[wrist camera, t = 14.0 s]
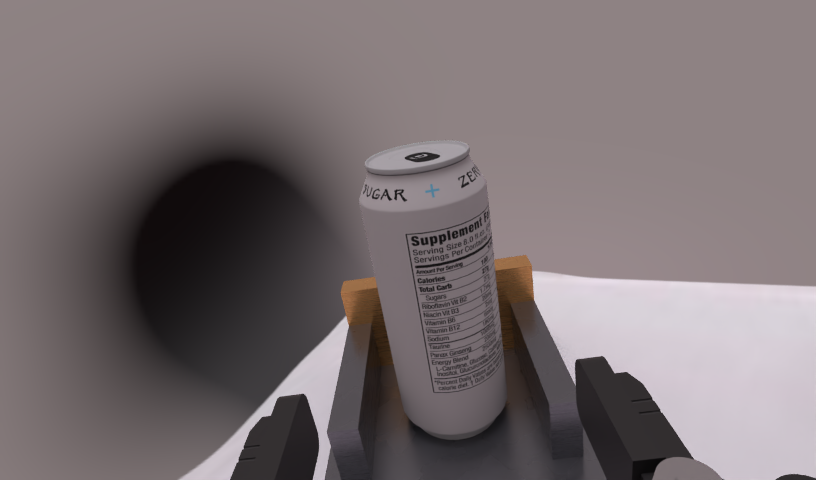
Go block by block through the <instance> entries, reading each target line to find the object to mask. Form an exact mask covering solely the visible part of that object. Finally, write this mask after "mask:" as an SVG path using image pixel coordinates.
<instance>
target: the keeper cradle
mask: <svg viewBox="0 0 816 480" xmlns="http://www.w3.org/2000/svg"><path fill="white" fill-rule="evenodd" d="M494 263H495V273H496V283H497V293H498V303H499V313H500V323H501V333H502V343H503V353H504V363H505V373H506V384H507V400H506V404H505V406H504V408H503V410H502V411H501V413H500V414H499V415H498V416H497V417H496V419H495V420H494V422H493V423H492V424H491V425H490V426H489V427H488V428H487V429H486V430H484V431H483V432H482V433H480V434H477V435H475V436H473V437H470V438H466V439H460V440H446V439H441V438H437V437H434V436H432V435H430V434H428V433H427V432H425V431H424V430H423V429H422V428H420V427H419V426H417V425H416V424H414V423H413V422H412V421H411V420H410V419H409V418H408V416H407V415H406V413H405V411H404V408H403V405H402V400H401V396H400V391H399V386H398V382H397V377H396V372H395V368H394V363H393V358H392V354H391V349H390V344H389V340H388V335H387V330H386V326H385V321H384V316H383V312H382V307H381V302H380V297H379V293H378V288H377V283H376V279H375V277H371V278H365V279H358V280H351V281H344V282H343V286H342V290H341V296H342V300H343V304H344V308H345V312H346V316H347V320H348V324H349V328H348V333H347V338H346V343H345V348H344V353H343V357H342V362H341V367H340V372H339V377H338V381H337V386H336V391H335V396H334V401H333V405H332V410H331V415H330V420H329V425H328V429H327V434H328V438H329V441H330V444H331V449H330V455H329V460H328V465H327V470H326V476H325V480H607V479H606V477H605V474H604V472H603V470H602V468H601V465H600V463H599V461H598V459H597V457H596V454H595V452H594V450H593V448H592V445H591V443H590V441H589V439H588V437H587V434H586V432H585V430H584V428H583V425H582V423H581V420H580V417H579V414H578V409H577V403H576V386H575V384H574V382H573V380H572V378H571V376H570V374H569V372H568V370H567V368H566V366H565V364H564V361H563V359H562V357H561V355H560V353H559V351H558V349H557V347H556V345H555V343H554V341H553V339H552V337H551V335H550V332H549V330H548V328H547V326H546V324H545V322H544V320H543V318H542V316H541V314H540V312H539V310H538V308H537V305H536V303H535V301H534V293H533V278H532V265H531V263H530V261H529V260H528V258H527V256H526V255H523V256H516V257H509V258H503V259H495V260H494Z"/></svg>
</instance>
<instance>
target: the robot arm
mask: <svg viewBox="0 0 816 480" xmlns="http://www.w3.org/2000/svg"><path fill="white" fill-rule="evenodd" d="M575 374H576V403H577V409H578V414H579V417H580V420H581V423H582V425H583V428H584V430H585V432H586V434H587V437H588V439H589V441H590V443H591V445H592V448H593V450H594V452H595V454H596V457H597V459H598V461H599V463H600V465H601V468H602V470H603V472H604V474H605V477H606V479H607V480H723V479H722V478H721V477H720V476H719V475H718V474H717V473H716V472H715V471H714V470H713V469H711V468H710V467H708V466H707V465H705V464H703V463H701V462H699V461H696V460H694V458H693V457H692V456H691V454H690V453H689V451H688V450H687V448H686V447H685V446H684V444H683V443H682V441H681V440H680V438H679V437H678V435H677V434H676V432H675V431H674V429H673V428H672V426H671V425H670V423H669V422H668V420H667V419H666V418H665V416H664V415H663V413H661V411H660V409H659V407H658V406H657V404H656V403H655V401H653V400H652V397H651V395H650V394H649V392H648V391H647V390H646V388H645V387H644V385H643V384H642V383H641V382H640V381H638V380H637V379H635V378H634V377H633V376H631V375H630V374H628V373H627V372H623V373H614V372H613V370H612V369H611V367H610V365H609V364H608V362H607V360H606V359H605V358H604V357H603V356H601V357H593V358H585V359H577V360H576V362H575ZM318 452H319V438H318V432H317V429H316V425H315V422H314V419H313V416H312V413H311V410H310V406H309V403H308V400H307V397H306V396H305V395H304V394H298V395H291V396H283V397H279V398H278V399H277V401H276V404H275V406H274V409H273V412H272V414H271V416H267V417H262V418H261V419H260V420H259V421H258V423H257V424H256V425H255V426H254V427H253V428H252V430H251V431H250V432H249V435H248V437H247V440H246V442H245V445H244V450H242V452H241V454H240V457H239V462H238V463H237V464H236V467H235V469H234V472H233V474H232V476H231V479H230V480H313V475H314V471H315V466H316V462H317V457H318ZM776 480H816V478H813V477H809V476H805V475H798V474H789V475H784V476H781V477H779V478H777V479H776Z"/></svg>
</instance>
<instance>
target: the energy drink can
mask: <svg viewBox="0 0 816 480" xmlns="http://www.w3.org/2000/svg"><path fill="white" fill-rule="evenodd" d="M469 151H470V148H469V146H468V144H466V143H464V142H460V141H428V142H420V143H414V144H409V145H404V146H399V147H396V148H392V149H388V150H385V151H382V152H380V153H377V154H375V155H373V156H371V157H370V158H368V159H367V160H366V161H365V168H366V170H367V176H366V180H365V183H364V186H363V189H362V192H361V196H360V199H359V204H360V208H361V213H362V218H363V222H364V227H365V232H366V236H367V241H368V246H369V251H370V255H371V260H372V265H373V269H374V274H375V279H376V283H377V288H378V293H379V297H380V302H381V307H382V312H383V316H384V321H385V326H386V330H387V335H388V340H389V344H390V349H391V354H392V358H393V363H394V368H395V372H396V377H397V382H398V386H399V391H400V396H401V400H402V405H403V408H404V411H405V413H406V415H407V416H408V418H409V419H410V420H411V421H412V422H413V423H414V424H416V425H417V426H419V427H420V428H422V429H423V430H424V431H425V432H427V433H428V434H430V435H432V436H434V437H437V438H441V439H446V440H460V439H466V438H470V437H473V436H475V435H477V434H480V433H482V432H483V431H484V430H486V429H487V428H488V427H489V426H490V425H491V424H492V423H493V422H494V420H495V419H496V417H497V416H498V415H499V414H500V413H501V411H502V410H503V408H504V406H505V404H506V400H507V384H506V373H505V363H504V353H503V343H502V333H501V323H500V313H499V303H498V293H497V283H496V273H495V263H494V253H493V243H492V233H491V223H490V212H489V202H488V192H487V182H486V180H485V178H484V176H483V175H482V174H481V172H480V171H479V169H478V168H477V166H476V165H475V164H474V162H473V161H472V160H471V158H470V156H469Z"/></svg>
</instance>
